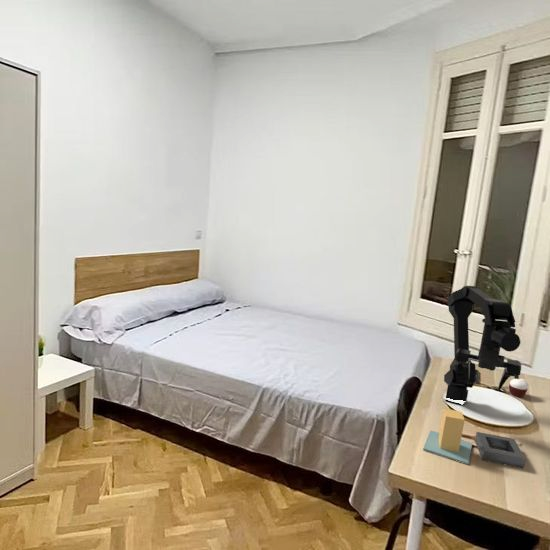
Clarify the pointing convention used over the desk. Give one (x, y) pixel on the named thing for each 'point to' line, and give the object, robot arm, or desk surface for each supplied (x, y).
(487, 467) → the desk surface
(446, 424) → the ochre square block
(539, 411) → the desk surface
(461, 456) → the rubber mat
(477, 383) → the phone
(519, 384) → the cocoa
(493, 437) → the square-hole plate
